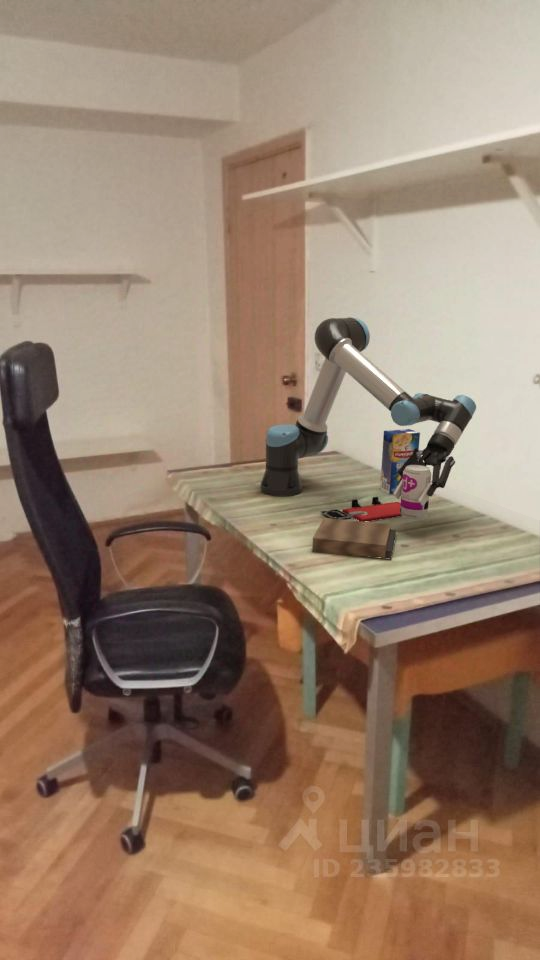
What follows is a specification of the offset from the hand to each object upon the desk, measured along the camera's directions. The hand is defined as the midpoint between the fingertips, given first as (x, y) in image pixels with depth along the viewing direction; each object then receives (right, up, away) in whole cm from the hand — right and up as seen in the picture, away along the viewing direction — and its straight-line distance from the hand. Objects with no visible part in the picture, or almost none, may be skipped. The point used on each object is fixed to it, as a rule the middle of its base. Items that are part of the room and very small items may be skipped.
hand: (408, 499), depth 198 cm
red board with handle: (-9, -6, +22) cm, 24 cm away
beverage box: (+6, +2, +48) cm, 48 cm away
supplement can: (+2, -5, +4) cm, 7 cm away
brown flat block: (-17, -13, -6) cm, 22 cm away
